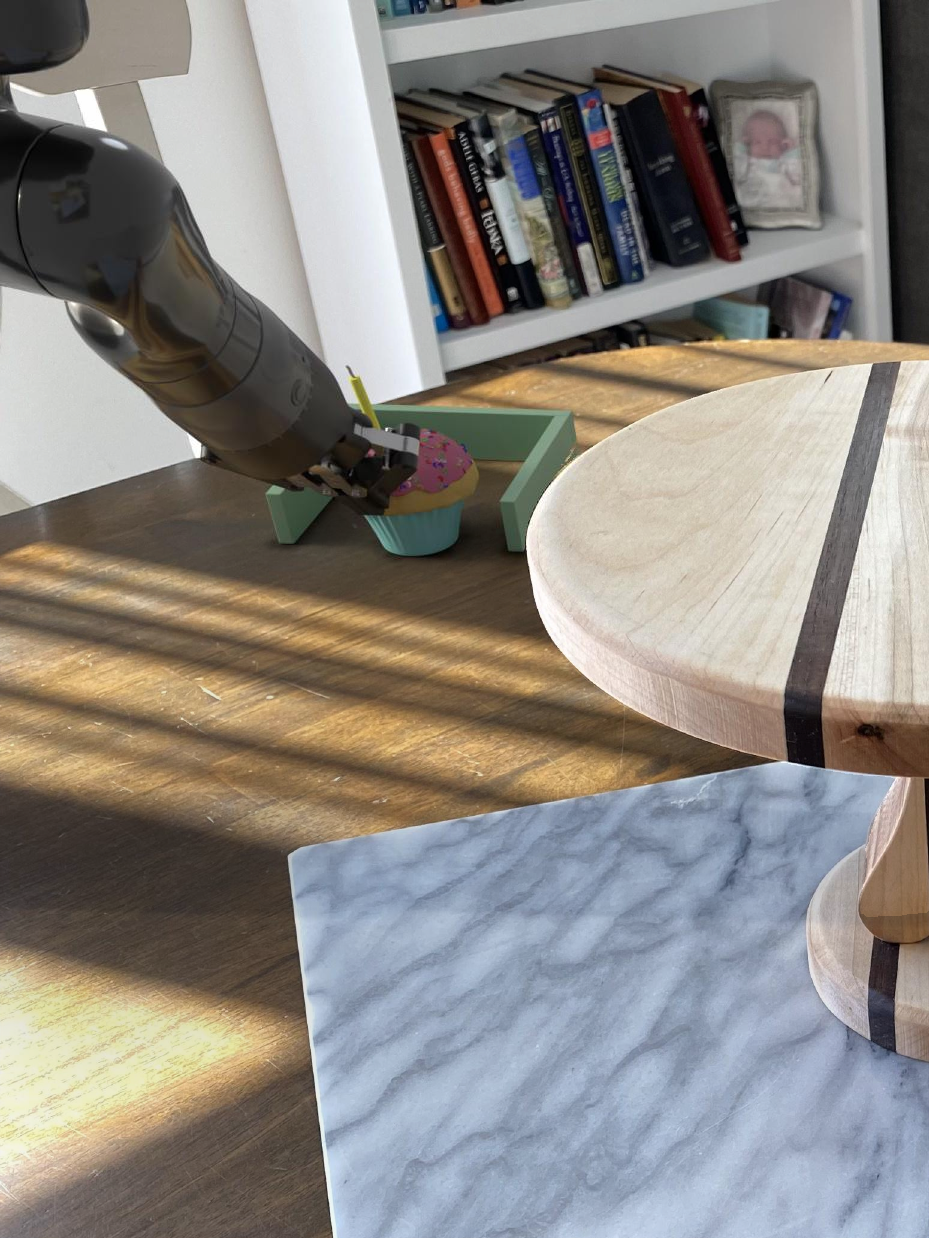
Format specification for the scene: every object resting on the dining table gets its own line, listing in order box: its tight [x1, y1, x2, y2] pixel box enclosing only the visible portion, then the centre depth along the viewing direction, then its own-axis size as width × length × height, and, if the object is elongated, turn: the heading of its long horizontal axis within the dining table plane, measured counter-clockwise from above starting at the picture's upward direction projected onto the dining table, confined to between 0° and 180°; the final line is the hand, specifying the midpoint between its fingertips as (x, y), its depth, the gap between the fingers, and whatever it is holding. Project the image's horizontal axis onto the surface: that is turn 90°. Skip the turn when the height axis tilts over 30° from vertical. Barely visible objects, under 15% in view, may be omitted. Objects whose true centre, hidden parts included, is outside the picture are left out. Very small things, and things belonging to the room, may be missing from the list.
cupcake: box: [345, 364, 480, 557], centre depth 107 cm, size 9×8×12 cm
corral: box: [265, 402, 580, 553], centre depth 114 cm, size 15×16×4 cm
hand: (373, 500), depth 104 cm, fingers closed
